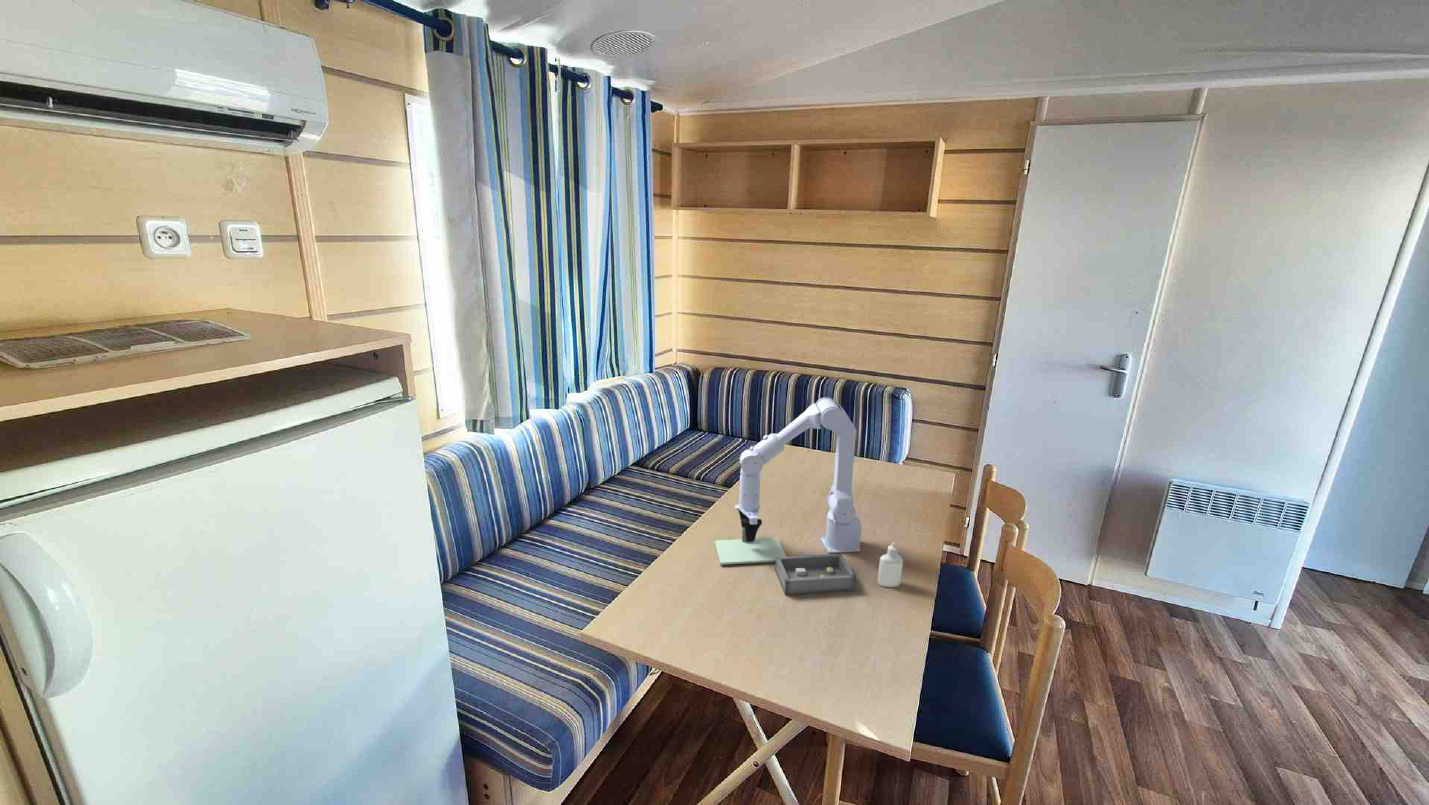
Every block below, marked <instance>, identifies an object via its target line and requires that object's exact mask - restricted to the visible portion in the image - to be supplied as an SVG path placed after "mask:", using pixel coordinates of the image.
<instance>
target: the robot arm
mask: <svg viewBox="0 0 1429 805" xmlns="http://www.w3.org/2000/svg"><path fill="white" fill-rule="evenodd" d="M821 426H823V428H825V429H827V430H830V431H833V432H834V434H836V443H835V445H836V446H835V457H834V472H833V483H832V485H831V487H830V492H829V494H828V496H827V498H826V503H827V505H828V507H829V511H828V513H827V514H826V528H825V536H823V537H822V536H821V537H820V540H821V543H822V544H823V546H824V548H825V549H826V551H827V554H840V553H854V552H861V548H860V547H861V546H860V545H861V536H862V525H861V521H860V518H859V517H858V516H856V514H857V512H856V509H855V506H854V497H853V492H852V486H853V474H854V461H855V452H856V449H855V448H856V438H857V428H856V427H855V425H854V424H853V421H851V418H850V417H849V416H848V414H847V413H846V412H845V410H844V408H843V407H842V406H841V404H840V403H838V402H837V401H836V400H834V399H833V398H831V397H827V396H826V397H821V398H819V399H818V400H817V401H816V402H814V403H812V404H810V405H809V406H808V407H807V408H806V409H805V410H804V412H802V413H801V414H799V415H798V417H796V418H795V419H794V420H793V421H792V422H790V423H789V424H788V425H787V426H785V427H784V428H783V429H782V430H780V432H778V433H770V434H769V435H767V434H765V435H764V436H763V437H762V440H760V441H759V442H758V443H757V444H755V445H754V446H753V445H751V446H750V447H749V449H745V450H744V451H742V452H741V454H740V457H739V459H738V460H739V463H740V471H739V473H740V475H739V492H738V493H739V494H738V495H739V497H738V504H735V505H734V510H736V511H738V514H739V518H740V525H741V528H742V527H744V528H745V536H746V540H747V542H754V540H755V538H756V536H757V534H758V531H759V529H760V527H761V525H762V524H763V520H762V519H761V518H758V516H759V512H760V508H761V507H760V496H761V495H760V492H761V472H762V471H763V467H764V465H766V464H767V463H768V462H770V461H771V460H773V459H774V458H775V457H776V456H778V455H780V453H782V452H784V451H785V445H786V444H787V443H788V442H790V441H791V440H793V439H795V438H796V437H797V436H800V434H801V435H802V433H804V432H805V431H807V430H808V429H817V430H821V429H822V427H821Z"/></svg>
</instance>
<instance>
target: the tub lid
mask: <svg viewBox="0 0 1429 805" xmlns="http://www.w3.org/2000/svg"><path fill="white" fill-rule="evenodd" d="M714 544H715V548H716V552H717V556H718V560H719V564H720V565H721V566H722V565H723V566H724V565H736V564H738V565H739V564H740V565H741V564H754V563H755V564H756V563H772V562H773V563H774V562H776V557H787V555H786V553H785V550H784V548H783V545H782V543H781V542H780V539H779V537H776V536H775V537H759V538H758V537H757V538H756V537H755V540H754V542H747V540H746V536H745V528H744V527H742V526H741V538H739V539H720V540H719V539H718V540H714Z"/></svg>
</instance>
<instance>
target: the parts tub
mask: <svg viewBox="0 0 1429 805" xmlns="http://www.w3.org/2000/svg"><path fill="white" fill-rule="evenodd" d="M774 564H775V566H774V570H775V571H774V572H775V573H776V577H777V579H778V581H779V583H780V586H781V589H782V591H783V594H784V595H785V596H790V595H807V594H821V593H822V594H824V593H838V592H841V593H842V592H853V591H855V585H856V575H855V573H854V572H853V571H852V569H851V567H850V566H849V564H848V563H847V561H846V559H845V558H844V557H843V554H842V553H826V554H825V553H823V554H812V555H809V554H808V555H793V556H791V555H790V556H786V557H776V562H775V563H774Z"/></svg>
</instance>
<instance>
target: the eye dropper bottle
mask: <svg viewBox="0 0 1429 805" xmlns="http://www.w3.org/2000/svg"><path fill="white" fill-rule="evenodd" d="M898 549H899V548H898V547H897V545H896V543H895V541H894V542H893V541H892V542H891V544H890V545H888V546H887V552H886V553H885V554H882V555H881V556H880V557H879V564H878V572H877V574H878V575H877V583H878V585H879V586H881V587H884V588H895V587H899V586H900V585H901V580H902V573H903V564H904V560H903V557H902V556H901V555H899V554H898V551H899V550H898Z"/></svg>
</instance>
